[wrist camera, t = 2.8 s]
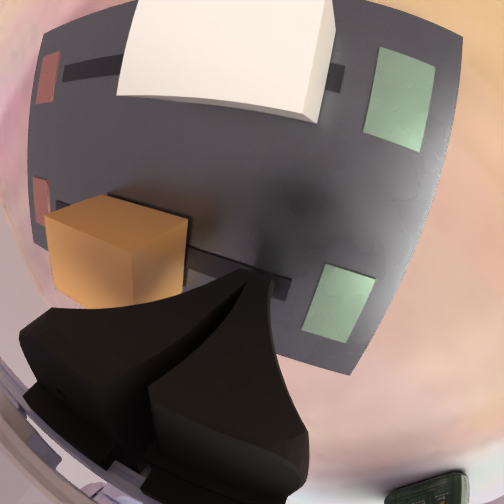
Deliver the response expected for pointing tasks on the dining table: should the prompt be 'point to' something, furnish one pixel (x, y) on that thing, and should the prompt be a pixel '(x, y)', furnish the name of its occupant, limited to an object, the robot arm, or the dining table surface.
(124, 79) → the switch
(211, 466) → the robot arm
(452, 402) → the dining table surface
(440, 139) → the breaker panel
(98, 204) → the plain orange cube
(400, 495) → the coffee jar
